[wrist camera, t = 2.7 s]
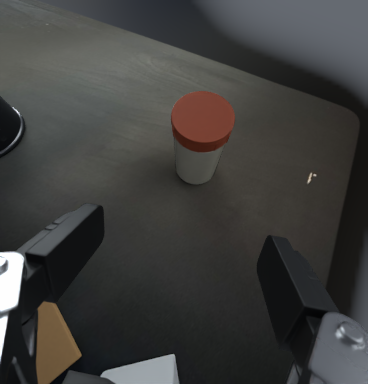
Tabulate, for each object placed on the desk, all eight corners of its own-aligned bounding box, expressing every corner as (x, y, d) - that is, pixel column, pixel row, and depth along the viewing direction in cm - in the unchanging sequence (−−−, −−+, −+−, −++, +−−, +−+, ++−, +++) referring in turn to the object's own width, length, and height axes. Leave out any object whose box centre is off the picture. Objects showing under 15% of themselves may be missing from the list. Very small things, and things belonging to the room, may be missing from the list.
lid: (160, 122, 20) (158, 110, 18) (204, 95, 21) (206, 81, 20) (197, 163, 18) (199, 154, 17) (242, 131, 20) (248, 120, 18)
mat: (-47, 320, 21) (-53, 321, 20) (35, 263, 23) (32, 263, 22) (-8, 431, 18) (-14, 436, 17) (82, 355, 20) (79, 357, 19)
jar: (167, 162, 28) (160, 114, 19) (198, 141, 29) (206, 87, 20) (192, 192, 26) (198, 155, 17) (224, 169, 27) (244, 123, 19)
